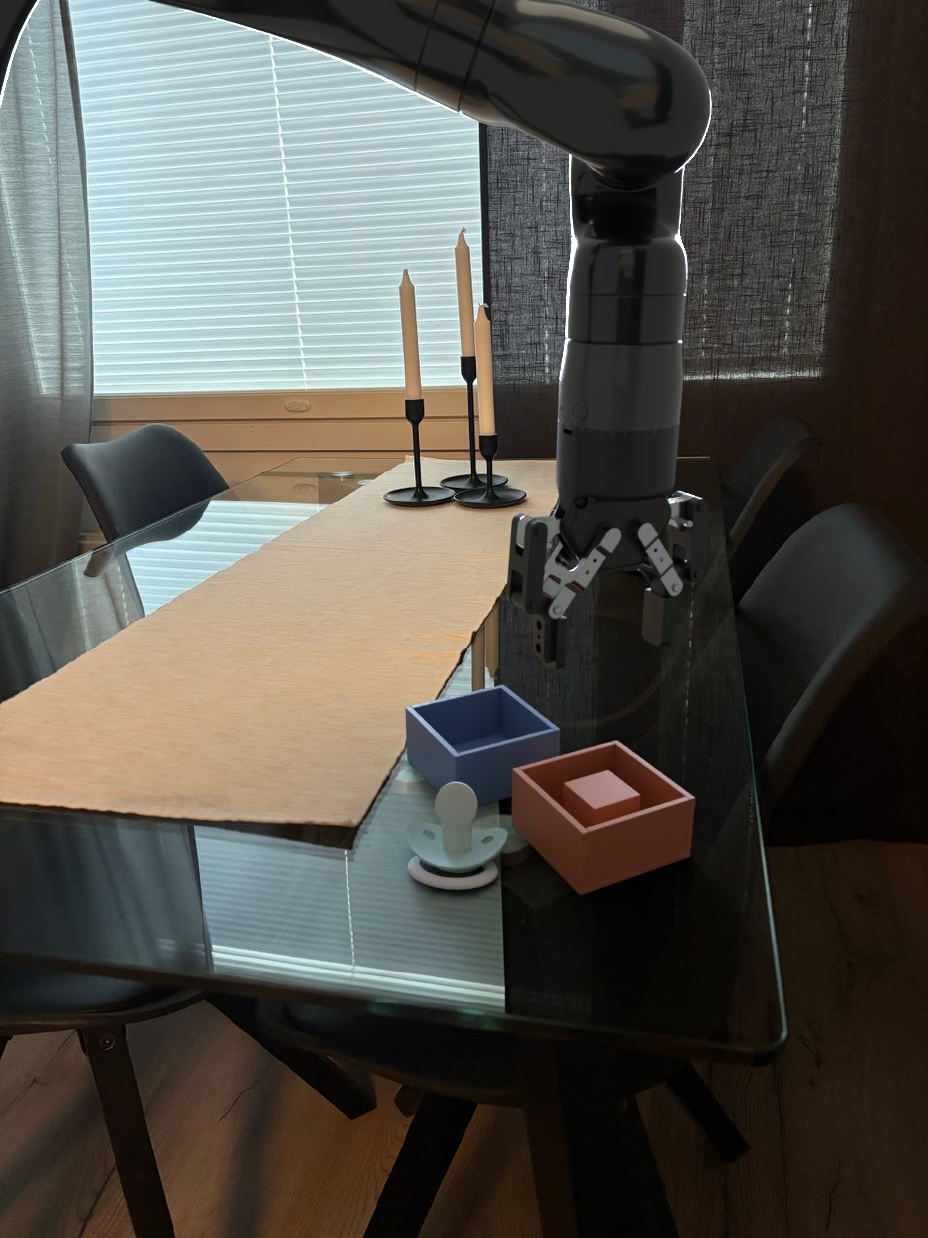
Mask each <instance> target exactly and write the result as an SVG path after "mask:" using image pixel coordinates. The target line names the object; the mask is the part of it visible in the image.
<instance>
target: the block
mask: <svg viewBox="0 0 928 1238" xmlns="http://www.w3.org/2000/svg"><path fill="white" fill-rule="evenodd" d="M639 807H640V794H639V793H637V792H636V791H635V790H633V789H632V788H631V787H629V786H628V785H627V784H626V783H624V782H623V781H622V780H620V779H619V778H618V777H617V776H615V775H614V774H613V773H611V772H610V771H609V770H606V771H603V772H599V773H596V774H593V775H589V776H586V777H583V778H579V779H576V780H573V781H569V782H566V783H564V793H563V809H564V810H565V811H566V812H568V813H569V814H570V815H571V816H572V817H573V818H574V819H575V820H576V821H578V822H579V823H580V824H581V825H582V826H583V827H584V828H585V829H586V828H588V827H592V826H595V825H598V824H601V823H604V822H607V821H610V820H614V819H617V818H620V817H623V816H626V815H629V814H632V813H636V812H639Z"/></svg>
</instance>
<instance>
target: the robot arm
mask: <svg viewBox="0 0 928 1238" xmlns="http://www.w3.org/2000/svg"><path fill="white" fill-rule="evenodd" d="M39 1H40V0H0V107H1V105H2V101H3V97H4V91H5V88H6V83H7V80H8V77H9V72H10V68H11V65H12V61H13V58H14V54H15V52H16V49H17V47H18V44H19V40H20V39H21V35H22V33H23V31H24V29H25V27H26V25H27V23H28V21H29V18H30V17H31V15H32V13H33V12H34V10H35V8H36V7H37V5H38V4H39ZM146 1H147V2H151V3H156V4H159V5H163V6H168V7H170V8H171V7H172V8H176V9H179V10H182V11H183V10H184V11H188V12H191V13H196V14H199V15H202V16H206V17H209V18H212V19H216V20H219V21H223V22H226V23H229V24H233V25H236V26H239V27H243V28H246V29H248V30H252V31H256V32H260V33H262V34H265V35H269V36H271V37H275V38H278V39H280V40H284V41H286V42H290V43H293V44H295V45H298V46H301V47H303V48H306V49H309V50H312V51H314V52H318V53H320V54H322V55H324V56H327V57H331V58H332V59H335V60H337V61H340V62H343V63H345V64H347V65H350V66H352V67H354V68H357V69H360V70H362V71H363V72H366V73H368V74H371V75H373V76H375V77H377V78H380V79H382V80H384V81H386V82H388V83H391V84H393V85H395V86H397V87H399V88H401V89H404V90H406V91H408V92H410V93H413V94H416V95H417V96H418V97H422V98H423V99H425V100H427V101H430V102H432V103H434V104H437V105H439V106H441V107H444V108H445V109H447V110H450V111H452V112H454V113H457V114H459V113H460V115H461V116H463V117H465V118H468V119H470V120H473V121H476V122H478V123H481V124H483V125H484V124H485V125H488V126H492V127H498V128H509V129H510V128H511V129H514V130H516V131H519V132H521V133H522V134H523V133H524V134H526V135H527V136H529V137H532V138H534V139H536V140H538V141H540V142H542V143H544V144H547V145H548V146H551V147H552V148H554V149H556V150H559V151H561V152H563V153H566V154H567V155H569V195H570V196H569V198H570V224H571V226H570V227H571V236H572V237H571V250H570V251H571V252H570V260H569V267H568V268H569V269H568V274H567V275H568V276H567V283H566V284H567V285H566V292H567V293H566V309H565V313H566V314H565V332H564V333H565V334H564V336H565V339H564V348H563V355H562V360H561V365H560V372H559V382H558V406H557V407H558V408H557V409H558V410H557V411H558V412H557V433H556V434H557V435H556V439H557V440H556V457H555V458H556V461H555V466H556V467H555V483H556V488H557V494H558V502H557V505H556V508H555V510H554V512H553V513H552V515H546V516H531V515H528V514H526V513H524V512H518V513H516V514H515V515H514V516H513V517H512V520H511V526H510V537H509V538H510V539H509V551H508V553H509V554H508V563H507V565H508V566H507V577H506V579H507V580H506V589H505V590H506V591H505V598H506V600H507V601H508V602H509V603H511V604H512V605H515V606H516V607H518V608H519V609H521V610H522V611H523V612H525V613H526V614H528V615H533V631H532V632H533V635H532V636H533V637H532V641H533V643H532V651H533V654H534V656H535V657H537V658H538V659H539V661H540V663H541V664H543V665H544V666H545V667H547V668H549V669H550V670H551V671H557V670H560V669H561V670H562V669H564V668H565V665H566V646H567V627H568V626H567V625H568V618H567V616H564V614H565V613H566V611H567V609H568V608H569V606H570V605H571V603H572V602H573V600H574V598H575V597H576V596H577V594H578V593H581V592H584V591H585V590H586V589H587V588H588V586H589V584H590V583H591V581H592V580H593V578H594V577H595V576H596V577H597V578H599V577H605V576H609V575H612V574H613V573H616V572H618V571H622V572H633V571H634V572H635V571H638V569H639V570H640V571H639V572H640V574H641V575H642V577H643V578H644V580H645V581H646V583H647V584H648V585H649V586H650V587H649V588H645V589H644V596H643V597H644V598H643V609H642V611H643V612H642V622H641V623H642V625H641V636H642V639H643V640H644V641H645V642H648V643H649V644H651V645H653V646H655V647H656V648H659V647H664V646H668V644H669V643H670V637H672V635H673V633H674V630H675V625H676V613H677V602H678V600H677V599H678V595H680V594H681V592H682V591H683V588H685V586H687V585H689V584H691V583H693V584H699V583H700V582H701V581H702V580H703V579H704V577H705V569H706V548H707V547H706V546H707V530H708V529H707V528H708V507H709V504H708V502H707V500H706V499H704V498H702V497H699V496H696V495H693V494H690V493H686V492H684V491H681V490H677V491H675V492H674V493H673V494H672V495H671V497H670V498H669V497H668V494H669V493H671V492H672V490H673V489H674V487H675V484H676V472H677V460H678V448H679V446H678V445H679V436H680V423H681V412H682V411H681V410H682V399H683V389H684V388H683V387H684V366H683V336H684V325H685V315H686V314H685V313H686V311H685V310H686V299H687V294H686V293H687V285H688V281H687V280H688V261H687V254H686V251H685V248H684V245H683V243H682V239H681V236H680V224H681V213H682V198H683V184H684V183H683V182H684V171H685V165H686V164H687V163H689V162H690V160H691V159H692V158H694V156H695V154H696V153H697V151H698V149H699V148H700V147H701V145H702V143H703V142H704V139H705V136H706V133H708V128H709V125H710V121H711V115H712V97H711V90H710V85H709V82H708V80H707V77H706V75H705V71H704V70H703V69H702V66H701V65H700V64H699V62H698V61H697V60H696V59H695V57H694V56H693V55H692V54H691V53H690V52H689V51H688V50H687V49H686V48H684V47H683V45H680V44H679V43H678V42H676V41H675V40H673V39H671V38H669V37H667V36H666V35H664V34H662V33H660V32H659V31H656V30H655V29H652V28H649V27H648V26H645V25H642V24H641V23H638V22H635V21H632V20H629V19H626V18H623V17H620V16H618V15H614V14H611V13H607V12H604V11H602V10H597V9H595V8H591V7H588V6H585V5H581V4H578V3H576V2H571V1H567V0H146ZM667 524H669V526H670V530H669V535H668V551H667V549H666V548H665V547H664V545H663V543H662V541H661V540H660V539H659V537H660V535H661V534H662V532H663V531H664V529H665V528H666V526H667ZM554 537H556V538H557V540H558V545H557V546H556V547H555V548H554V550H553V552H552V553H551V555H550V557H549V558H548V560H547V561H546V558H547V551H549V550H551V549H552V548H553V543H552V541H553V539H554ZM660 538H661V537H660ZM571 561H572V562H573V564H574V565H575V566H576V567H574V568H573V569H571V570H569V569H568V566H569V565H570V563H571Z"/></svg>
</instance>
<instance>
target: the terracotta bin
mask: <svg viewBox="0 0 928 1238" xmlns="http://www.w3.org/2000/svg"><path fill="white" fill-rule="evenodd" d="M606 770H609V771H610V772H611V773H613V774H614V775H615V776H617V777H618V778H619V779H620V780H622V781H623V782H624V783H626V784H627V785H628V786H629V787H631V788H632V789H633V790H635V791H636V792H637V793H639V794H640V807H639V812H636V813H632V814H629V815H626V816H623V817H620V818H617V819H614V820H610V821H607V822H604V823H601V824H598V825H595V826H592V827H588V828H586V829H585V828H584V827H583V826H582V825H581V824H580V823H579V822H578V821H576V820H575V819H574V818H573V817H572V816H571V815H570V814H569V813H568V812H566V811H565V810H564V809H563V793H564V783H566V782H569V781H573V780H576V779H579V778H583V777H586V776H589V775H593V774H596V773H599V772H603V771H606ZM695 808H696V797H695V796H693V795H692V794H691V793H689V792H688V791H687V790H686V789H684V788H683V787H681V786H680V785H679V784H678V783H676V782H674V781H673V780H672V779H671V778H669V777H668V776H666V775H665V774H664V773H662V772H661V771H660V770H658V769H657V768H655V767H654V766H652V764H650V763H648V762H647V761H646V760H644V759H643V758H641V757H640V756H639V755H638V754H636V753H635V752H633V750H631V749H629V748H628V747H627V746H625V745H624V744H623V743H621V742H620V741H618V740H616V739H615V740H612V741H608V742H605V743H601V744H598V745H594V746H591V747H586V748H583V749H580V750H576V751H573V752H569V753H565V754H562V755H561V754H560V755H559V756H558V757H554V758H550V759H547V760H543V761H539V762H536V763H532V764H529V765H525V766H521V767H518V768H514V769H512V797H511V826H512V827H513V828H514V829H515V831H517V832H518V834H519V835H520V836H521V837H522V838H523V839H524V840H525V841H526V842H527V843H528V844H529V845H530V846H531V847H532V848H533V849H534V850H535V851H536V852H537V853H538V854H539V856H541V857H542V858H543V859H544V860H545V861H546V862H547V863H548V864H549V865H550V866H551V867H552V869H554V870H555V872H557V873H558V875H560V876H561V878H563V880H564V881H566V883H568V885H570V886H571V888H573V890H574V891H575V892H576V893H578V895H579V896H582V895H585V894H588V893H591V892H594V891H596V890H599V889H602V888H605V887H609V886H610V885H614V884H617V883H619V882H622V881H626V880H628V879H631V878H633V877H636V876H639V875H642V874H645V873H648V872H651V871H654V870H657V869H659V868H662V867H665V866H668V865H670V864H674V863H677V862H679V861H683V860H685V859H687V858H690V857H691V849H692V839H693V838H692V837H693V828H694V827H693V826H694V817H695Z"/></svg>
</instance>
